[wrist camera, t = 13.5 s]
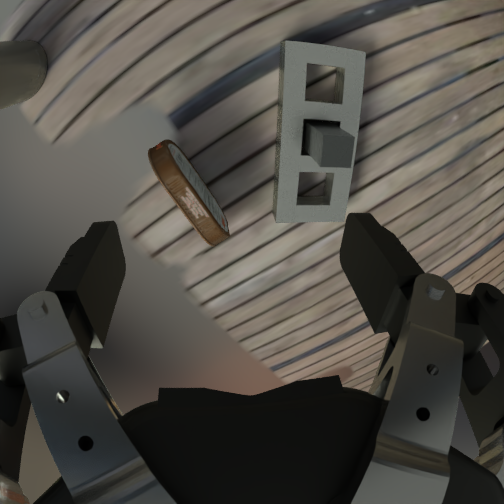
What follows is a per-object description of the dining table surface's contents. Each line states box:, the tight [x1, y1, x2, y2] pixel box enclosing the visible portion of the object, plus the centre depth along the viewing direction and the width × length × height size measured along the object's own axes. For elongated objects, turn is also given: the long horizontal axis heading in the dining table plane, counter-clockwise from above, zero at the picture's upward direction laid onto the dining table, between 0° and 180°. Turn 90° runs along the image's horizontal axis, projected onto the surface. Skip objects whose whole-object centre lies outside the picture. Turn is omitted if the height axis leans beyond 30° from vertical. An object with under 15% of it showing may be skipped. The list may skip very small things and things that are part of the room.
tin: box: [148, 140, 230, 246], centre depth 37 cm, size 15×3×8 cm, turn 29°
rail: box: [272, 41, 366, 223], centre depth 36 cm, size 10×24×3 cm, turn 178°
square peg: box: [302, 119, 355, 168], centre depth 34 cm, size 4×4×9 cm
